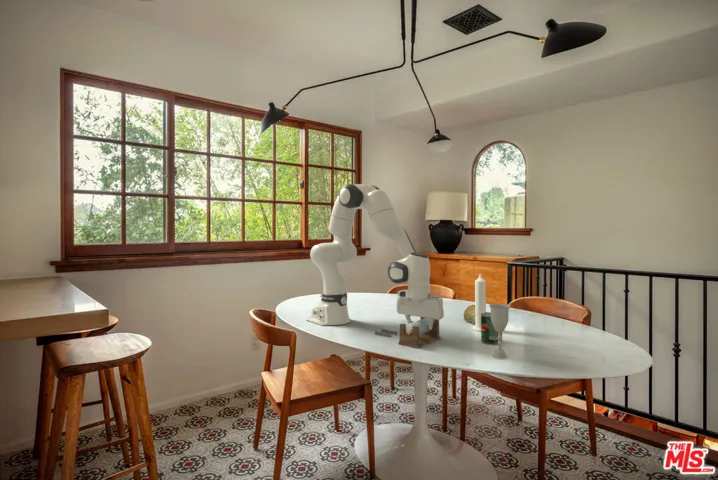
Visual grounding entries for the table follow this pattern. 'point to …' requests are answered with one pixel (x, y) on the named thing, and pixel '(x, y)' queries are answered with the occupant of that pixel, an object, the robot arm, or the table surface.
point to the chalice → (499, 326)
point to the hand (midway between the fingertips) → (419, 327)
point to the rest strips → (386, 332)
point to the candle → (479, 301)
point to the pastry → (470, 314)
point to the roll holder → (415, 338)
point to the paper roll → (421, 325)
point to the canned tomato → (488, 330)
